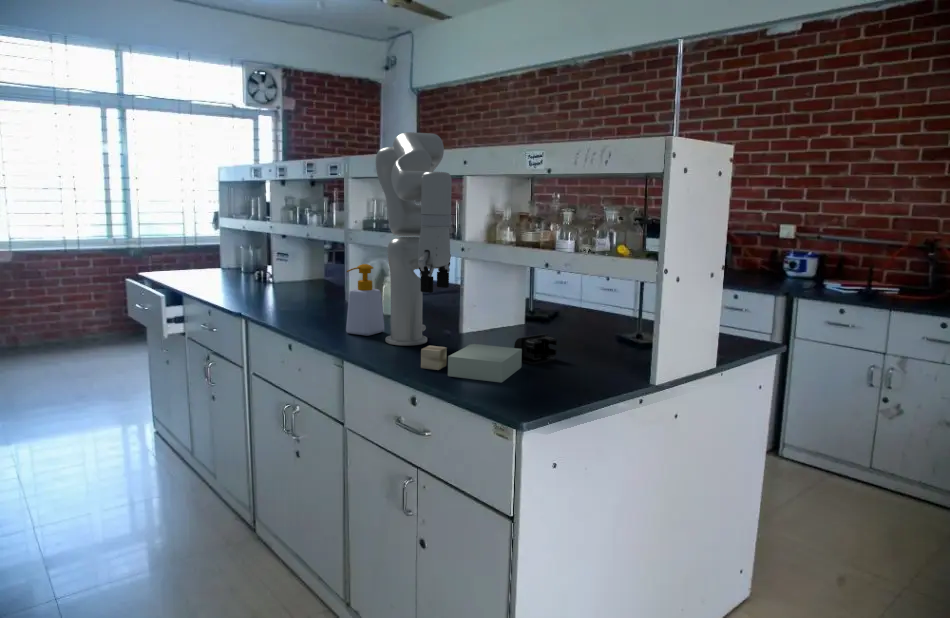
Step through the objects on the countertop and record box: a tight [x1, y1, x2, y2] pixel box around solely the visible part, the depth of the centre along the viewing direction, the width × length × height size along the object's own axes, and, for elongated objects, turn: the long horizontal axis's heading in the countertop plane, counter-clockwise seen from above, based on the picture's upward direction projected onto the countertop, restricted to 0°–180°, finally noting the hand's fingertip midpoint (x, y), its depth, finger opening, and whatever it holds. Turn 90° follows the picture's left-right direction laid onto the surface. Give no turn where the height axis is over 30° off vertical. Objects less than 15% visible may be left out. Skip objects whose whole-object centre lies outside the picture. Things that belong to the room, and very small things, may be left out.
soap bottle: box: [345, 263, 385, 337], centre depth 212 cm, size 10×14×22 cm
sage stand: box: [447, 343, 522, 383], centre depth 170 cm, size 16×14×5 cm
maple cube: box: [420, 345, 448, 371], centre depth 174 cm, size 5×5×5 cm
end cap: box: [513, 333, 558, 366], centre depth 184 cm, size 10×7×7 cm
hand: (435, 289), depth 171 cm, fingers open, 9 cm apart
